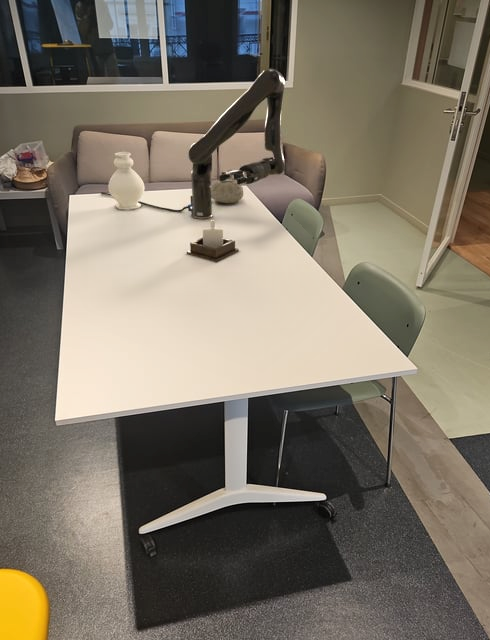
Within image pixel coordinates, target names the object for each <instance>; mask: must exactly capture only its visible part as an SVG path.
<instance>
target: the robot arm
mask: <svg viewBox="0 0 490 640" xmlns="http://www.w3.org/2000/svg"><path fill="white" fill-rule="evenodd" d="M284 92H285V78H284V76H283V74H282V73H281V72H279V71H278V70H276V69H274V68H267V69H265V70H263V71H262V72H261V73H260V74H259V75H258V77H257V78H256V79H255V80H254V82H253V83H252V84H251V85H250V86H249V88H248V89H247V90H246V91H245V92H244V93H243V94H242V95H241V96H240V97H239V98H237V100H236V101H235V102H234V103H232V105H231V106H230V107H228V108H227V109H226V110H225V112H224V113H222V114H221V116H220V117H219V118H218V119H217V120H216V121H215V123H214V124H213V125H212V126H211V128H210V129H209V130H208V131H207V132H206V133H205V135H203V136H202V137H201V138H200V139H198V140H197V141H195V142H194V143H192V144H191V145H190V146H189V149H188V159H189V161H190V162H191V163H192V169H191V173H190V178H191V179H190V180H191V181H190V182H191V195H190V204H187V205H186V206H183V207H182V208H181V209H172V208H167V207H162V206H157V205H153V204H149V203H146V202H143V201H141V200H139V201H138V203H140V204H141V205H144V206H147V207H150V208H154V209H158V210H163V211H169V212H173V213H182V212H183V211H185V210H186V209H188V210H187V211H188V212H190V216H191V217H193V218H194V219H198V220H207V219H211V218H212V217H213V204H212V203H213V199H212V194H211V187H212V173H213V153H214V152H215V151H216V150H217V149H218V148H219V147H220V146H222V145H223V144H224V143H225V142H227V141H228V140H230V138H232V137H233V136H235V135H236V134H237V133H238V132H239V131H240V130H241V129H242V128H243V127H245V125H246V124H247V123H248V121H249V120H250V119H251V117H252V115H253V114H254V112H255V110H256V109H257V107H259V105H260V104H261V103H263V101H264V100H267V101H266V103H267V105H266V106H267V109H266V118H265V123H264V132H263V133H264V134H263V135H264V136H263V137H264V149H265V151H267V152H271V153H272V155H273V156H269V157H268V156H267V157H263V158H262V159H260V160H257V161H252V162H249V163H245V164H243V165H241V166H240V167H239V169H237V170H233V169H229V170H224V171H221V174H220V175H219V176H218V177H219V178H218V181H224V180H225V181H227V180H231V181H236V182H237V184H238V185H243V184H244V185H251V184H254V183H256V182H259V181H260V180H263V179H265V178H267V177H269V175H270V176H273V175H274V176H275V175H282V174H283V173H284V171H285V168H286V161H285V158H284V154H283V148H282V128H281V127H282V123H281V122H282V110H283V109H282V108H283V107H282V106H283V99H284ZM100 194H101V195H105V196H106V195H107V196H111V197H112V195H111V194H110V192H104V191H101V192H100Z"/></svg>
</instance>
